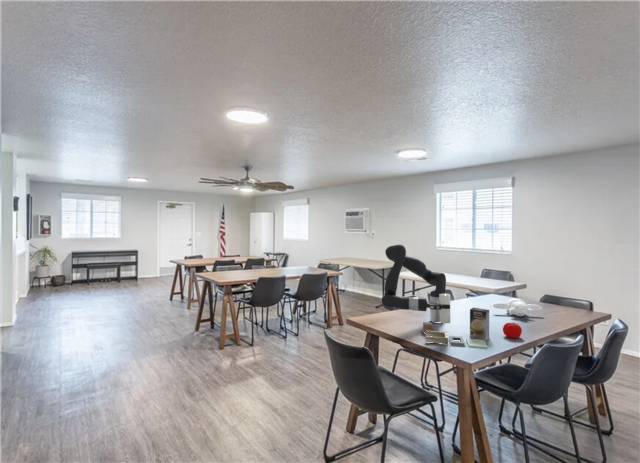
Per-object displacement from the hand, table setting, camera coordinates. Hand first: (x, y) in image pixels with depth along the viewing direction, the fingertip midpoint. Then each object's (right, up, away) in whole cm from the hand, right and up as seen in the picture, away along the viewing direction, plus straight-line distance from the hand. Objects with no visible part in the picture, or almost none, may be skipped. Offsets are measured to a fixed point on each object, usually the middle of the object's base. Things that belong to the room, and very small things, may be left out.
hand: (449, 305), depth 190 cm
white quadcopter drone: (+72, -20, +63) cm, 98 cm away
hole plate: (+3, -20, -1) cm, 20 cm away
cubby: (-7, -20, +2) cm, 21 cm away
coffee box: (+20, -20, +7) cm, 29 cm away
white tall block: (-2, -9, +1) cm, 9 cm away
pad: (+13, -20, -4) cm, 24 cm away
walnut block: (-7, -20, +17) cm, 27 cm away
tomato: (+39, -20, +8) cm, 44 cm away
